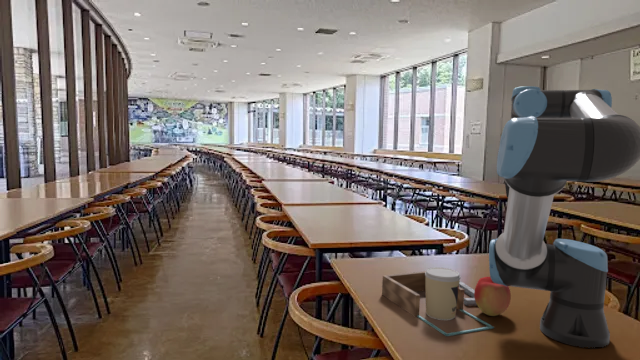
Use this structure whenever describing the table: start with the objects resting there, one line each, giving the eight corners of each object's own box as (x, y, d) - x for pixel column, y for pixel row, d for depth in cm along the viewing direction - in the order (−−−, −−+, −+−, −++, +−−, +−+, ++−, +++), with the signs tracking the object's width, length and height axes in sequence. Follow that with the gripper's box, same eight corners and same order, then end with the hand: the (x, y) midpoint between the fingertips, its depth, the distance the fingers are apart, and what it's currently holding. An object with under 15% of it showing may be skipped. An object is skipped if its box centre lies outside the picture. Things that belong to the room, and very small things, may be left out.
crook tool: (488, 305, 130) (488, 299, 130) (466, 306, 129) (467, 300, 129) (458, 285, 148) (459, 279, 147) (439, 285, 146) (439, 280, 146)
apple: (465, 309, 126) (467, 275, 125) (492, 306, 129) (494, 272, 128) (489, 323, 117) (492, 286, 116) (517, 319, 120) (520, 283, 119)
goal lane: (493, 328, 114) (493, 326, 114) (446, 336, 108) (446, 334, 108) (461, 310, 125) (461, 308, 125) (417, 316, 120) (417, 315, 120)
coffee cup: (459, 323, 116) (462, 278, 115) (423, 319, 118) (425, 275, 117) (456, 310, 125) (459, 268, 124) (422, 306, 127) (424, 265, 126)
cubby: (463, 310, 126) (464, 289, 125) (415, 317, 120) (416, 295, 119) (425, 289, 142) (426, 271, 142) (381, 294, 136) (382, 275, 136)
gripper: (529, 141, 134) (524, 219, 136) (495, 140, 129) (490, 220, 131) (550, 142, 127) (544, 223, 129) (515, 141, 122) (510, 225, 124)
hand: (517, 222), depth 130 cm, fingers closed
